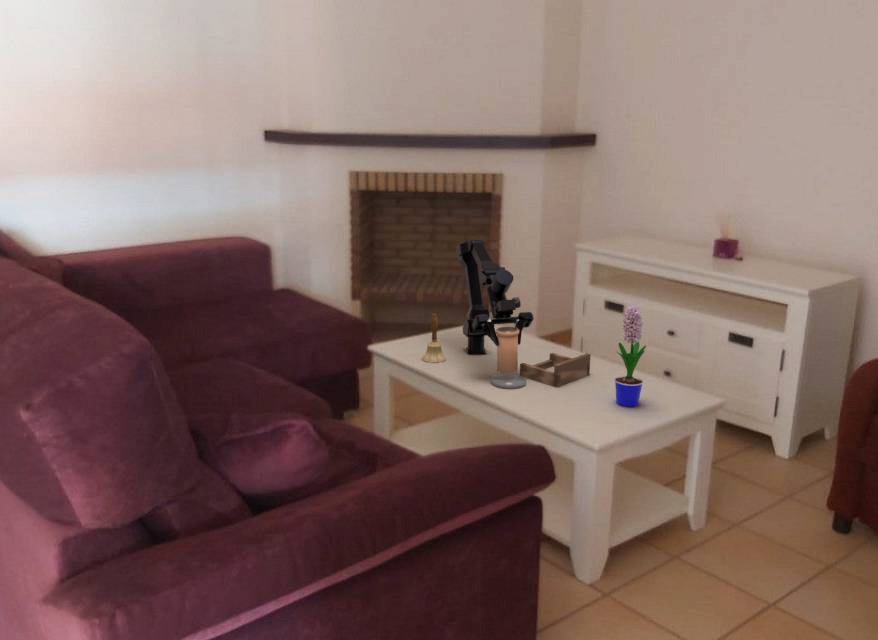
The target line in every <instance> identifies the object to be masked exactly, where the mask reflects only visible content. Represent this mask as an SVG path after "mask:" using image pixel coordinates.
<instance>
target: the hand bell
mask: <svg viewBox="0 0 878 640" xmlns="http://www.w3.org/2000/svg"><path fill="white" fill-rule="evenodd" d="M430 329H431V342H429V343H427V348H426V350H425V351H426V352H425V353H424V355H422V358H421V360H422V361H423V362H425V363H428V362H430V364H440V363H439V362H441V363H445V362H446V361H447V357H446V356H445V355H444V353H443V350H442V345H441V343H440V342H438V336H437V335H438V334H437V332H438V329H439V319H438V316H437V313H432V316H431V318H430Z"/></svg>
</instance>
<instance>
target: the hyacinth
mask: <svg viewBox="0 0 878 640" xmlns="http://www.w3.org/2000/svg"><path fill="white" fill-rule="evenodd" d="M623 316H624V318H623V319H622V320H623V321H622V322H623V324H622V331H623V335H622V337H623V342H624V343H625V342H626V343H627V344H628V345H630V352H627V351H626V349H625V347H624V345H623V344H622V343H621V342H618V348H619V350H620V351H619V352H618V351H616V354H618V355H619V356H620V358H621V359H622V361H623V363H624V365H625V368H626V375H619V376H616V377H614V385H615V387H614V388H615V404H616V405H618V406H619V407H623V408H635V407H637V406H639V403H640V402H639V401H640V396H641V391H642V388H643V387H642V386H643V384H644V381H643V379H642V378H640V377H637V376H633V374H634V371H635V369H636V367H637V364H638V363H639V360H640V358H641V357H642V356H643V354H644V353H645V349H647V345H644V346H642V347H641V348H640V342H639V341H641V339H642V328H643V327H642V326H643V324H644V322H643V321H642V320H643V317H642V314H641V312H640V308H639V307H638V306H636V305H629V306H628V307H627V309H626V310H624V313H623Z"/></svg>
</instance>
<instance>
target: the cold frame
mask: <svg viewBox="0 0 878 640" xmlns="http://www.w3.org/2000/svg"><path fill="white" fill-rule="evenodd" d="M551 367H554V370H553V371H552V370H548V368H551ZM590 368H591V353H588V352H587V353H586V352H585V353H583V354H581V355H578V356H576V357H569V356H565V355H562V354H558V353H555V352H550V353H549V359H547V360H544V361H541V362H537V363H535V364H529V363H525V362H522V363H520V365H519V375H520V376H523V377H524V378H526V379H529V380H532V381H536V382H539V383H542V384H545V385H547V386H548V385H549V386H552V387H555V388H559V387H562V386H564V385H567V384H570V383H572V382H575V381H577V380H580V379H582V378H585V377H588V376H590V370H591V369H590Z"/></svg>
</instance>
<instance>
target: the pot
mask: <svg viewBox="0 0 878 640" xmlns="http://www.w3.org/2000/svg"><path fill="white" fill-rule="evenodd" d="M495 332H496V335H497V338H498V342H499V346H496V358H497V359H496V370H497V372H499V373H501V374H514V373H517V372H518V371H519V370H518V367H519V366H518V360H519V358H518V356H519V351H518V350H519V345H518V334H519V329H518V328H515V326H500V327H497V328H496V329H495Z"/></svg>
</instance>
